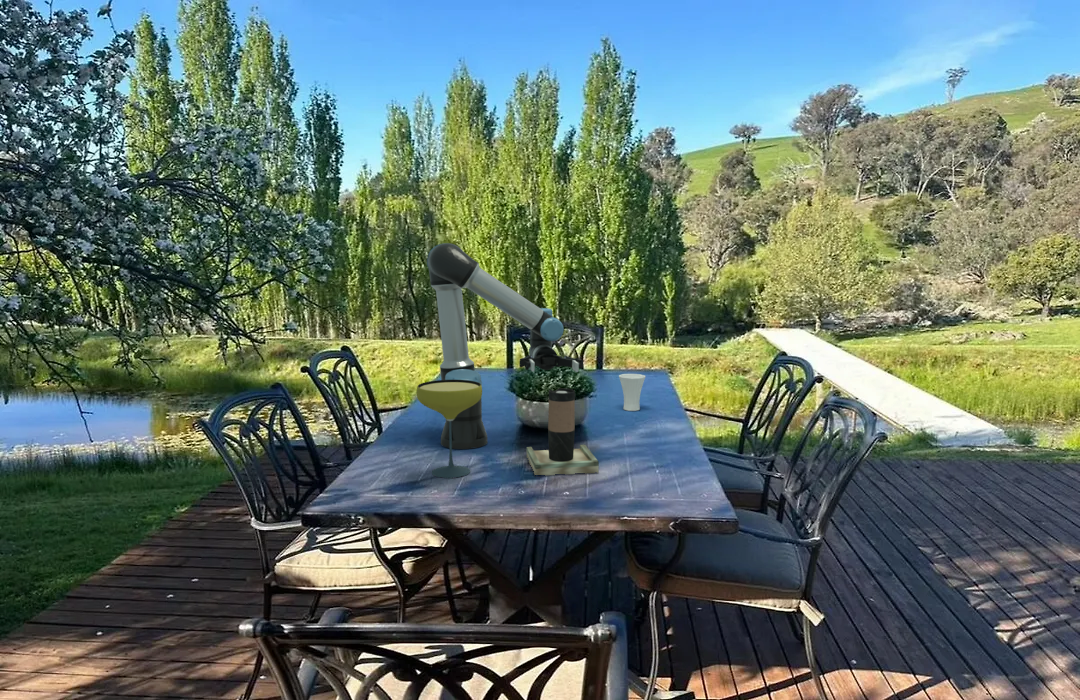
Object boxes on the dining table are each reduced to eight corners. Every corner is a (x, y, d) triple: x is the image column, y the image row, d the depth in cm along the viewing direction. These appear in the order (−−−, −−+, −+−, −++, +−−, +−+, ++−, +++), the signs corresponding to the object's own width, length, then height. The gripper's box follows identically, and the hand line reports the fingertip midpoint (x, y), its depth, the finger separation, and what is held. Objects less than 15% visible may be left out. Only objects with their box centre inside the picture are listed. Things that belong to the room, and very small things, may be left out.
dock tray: (535, 475, 191) (535, 464, 190) (526, 457, 208) (526, 447, 208) (598, 472, 194) (598, 461, 193) (584, 454, 211) (584, 444, 211)
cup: (617, 411, 269) (618, 377, 268) (619, 406, 280) (619, 373, 278) (644, 412, 268) (645, 378, 266) (645, 407, 278) (645, 374, 276)
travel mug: (572, 462, 196) (572, 393, 194) (545, 461, 198) (546, 392, 195) (575, 455, 204) (576, 388, 201) (550, 453, 205) (551, 387, 202)
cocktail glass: (487, 480, 187) (486, 389, 184) (419, 484, 184) (417, 392, 180) (479, 461, 205) (478, 378, 201) (417, 464, 201) (415, 380, 198)
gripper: (581, 368, 232) (594, 379, 212) (507, 367, 229) (514, 378, 208) (582, 346, 231) (596, 355, 211) (508, 345, 228) (515, 354, 207)
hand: (555, 367), depth 209 cm, fingers open, 13 cm apart
